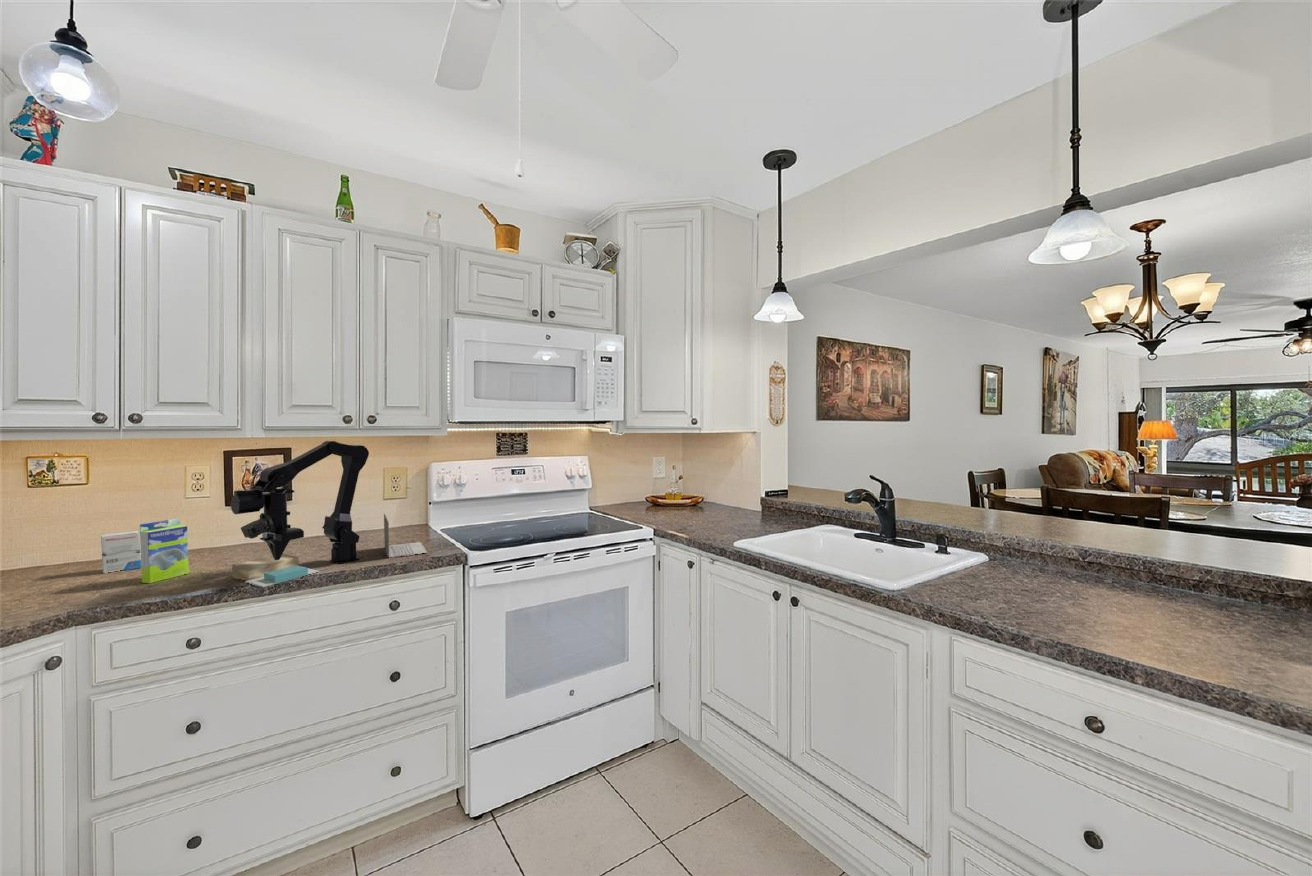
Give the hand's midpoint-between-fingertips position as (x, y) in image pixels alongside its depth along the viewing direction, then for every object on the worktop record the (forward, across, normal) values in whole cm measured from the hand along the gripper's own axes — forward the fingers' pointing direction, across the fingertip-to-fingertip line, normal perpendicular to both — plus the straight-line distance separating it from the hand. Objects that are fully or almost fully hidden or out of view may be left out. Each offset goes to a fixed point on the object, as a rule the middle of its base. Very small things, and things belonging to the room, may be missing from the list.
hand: (276, 559), depth 159 cm
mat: (+5, +3, 0) cm, 6 cm away
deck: (+5, -6, 0) cm, 8 cm away
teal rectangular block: (+2, +5, 0) cm, 6 cm away
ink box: (+5, -52, -18) cm, 56 cm away
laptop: (+6, +8, +38) cm, 39 cm away
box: (+5, -28, -16) cm, 33 cm away
